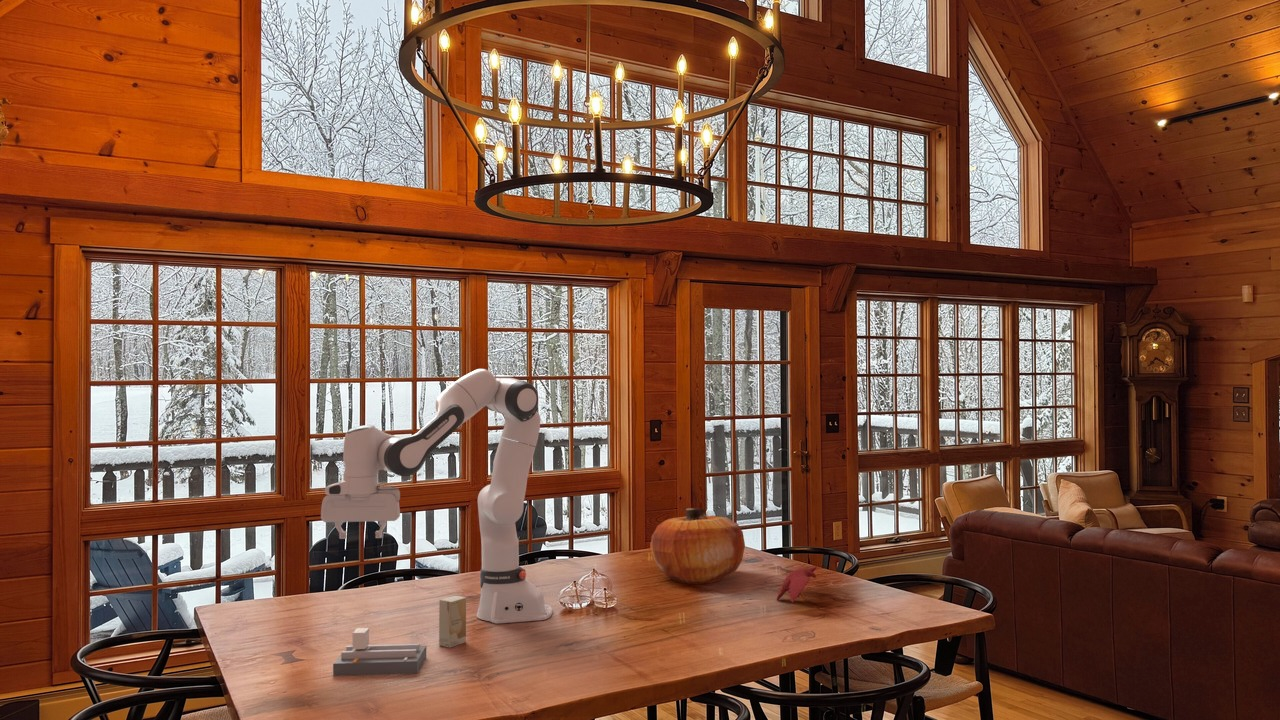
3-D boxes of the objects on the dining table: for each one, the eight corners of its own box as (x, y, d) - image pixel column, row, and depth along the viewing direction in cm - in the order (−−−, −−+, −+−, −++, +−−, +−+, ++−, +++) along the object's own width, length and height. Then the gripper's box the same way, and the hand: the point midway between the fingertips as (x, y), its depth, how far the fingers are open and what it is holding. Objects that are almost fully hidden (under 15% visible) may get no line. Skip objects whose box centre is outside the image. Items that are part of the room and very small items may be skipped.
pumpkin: (658, 567, 324) (654, 501, 324) (747, 565, 320) (743, 498, 319) (647, 593, 292) (642, 520, 291) (746, 591, 287) (741, 517, 287)
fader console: (426, 657, 222) (426, 639, 222) (417, 673, 210) (416, 654, 210) (347, 659, 221) (347, 641, 221) (333, 676, 209) (333, 657, 209)
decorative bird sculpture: (784, 627, 260) (818, 593, 257) (761, 604, 262) (795, 570, 259) (798, 603, 287) (829, 572, 283) (777, 583, 289) (807, 551, 286)
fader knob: (371, 651, 217) (371, 627, 217) (367, 656, 213) (366, 632, 213) (354, 651, 217) (354, 628, 217) (350, 656, 213) (350, 633, 213)
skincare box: (450, 648, 229) (449, 602, 229) (438, 645, 231) (438, 600, 232) (467, 642, 235) (466, 596, 235) (455, 639, 237) (455, 594, 237)
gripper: (402, 484, 235) (402, 535, 235) (326, 485, 234) (326, 536, 234) (397, 487, 229) (397, 539, 229) (318, 488, 228) (318, 541, 227)
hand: (360, 538), depth 231 cm, fingers open, 8 cm apart
